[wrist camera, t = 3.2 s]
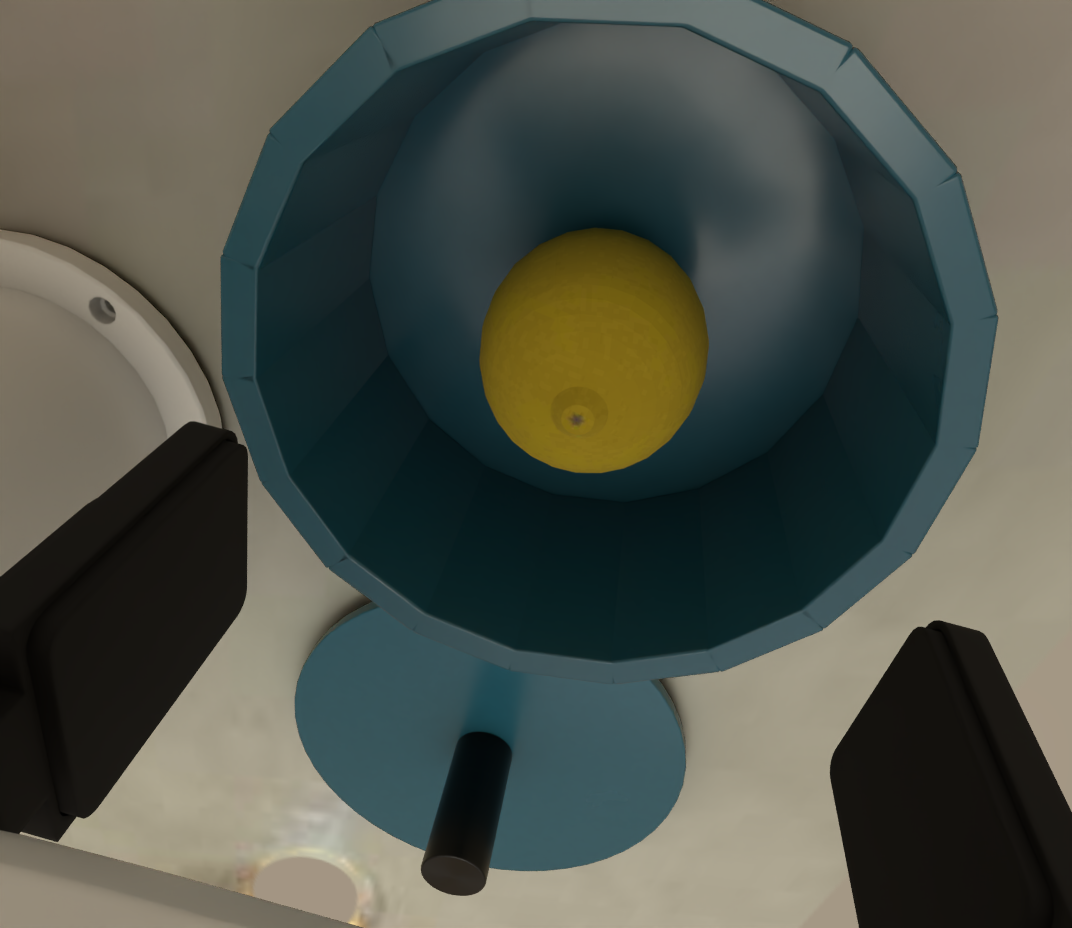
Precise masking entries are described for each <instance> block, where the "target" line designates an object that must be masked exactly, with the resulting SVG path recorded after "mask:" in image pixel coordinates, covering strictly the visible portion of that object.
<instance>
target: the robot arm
mask: <svg viewBox="0 0 1072 928" xmlns="http://www.w3.org/2000/svg"><path fill="white" fill-rule="evenodd" d="M247 498H248V453H247V449H246V447H245V446H244V445H241V444H238V442H237V437H236V435H235V433H233V432H232V431H229V430H225V429H222V424H221V418H220V413H219V410H218V407H217V405H216V402H215V399H214V396H213V394H212V391H211V388H210V385H209V383H208V381H207V379H206V377H205V375H204V374H203V372H202V370H201V368H200V366H199V365H198V363H197V361H196V359H195V357H194V356H193V354H192V352H191V350H190V349H189V348H188V346H187V345H186V344H185V343H184V341H183V340H182V339H181V337H180V336H179V335H178V333H177V332H176V331H175V330H174V328H173V327H172V326H171V324H170V323H169V322H168V320H167V319H166V318H165V317H164V316H163V315H162V314H161V313H160V312H159V311H158V310H157V309H156V308H155V307H154V306H152V305H151V304H150V303H149V302H148V301H147V300H146V299H145V298H144V297H143V296H142V295H141V294H140V293H139V292H138V291H137V290H136V289H134V288H133V287H132V286H130V285H129V284H128V283H126V282H125V281H123V280H122V279H121V278H119V277H118V276H117V275H115V274H114V273H113V272H111V271H110V270H109V269H107V268H106V267H104V266H103V265H101V264H99V263H97V262H95V261H93V260H91V259H90V258H88V257H86V256H84V255H82V254H80V253H78V252H77V251H75V250H73V249H71V248H69V247H66V246H63V245H61V244H58V243H55V242H52V241H49V240H46V239H43V238H41V237H38V236H35V235H31V234H25V233H19V232H13V231H6V230H0V928H362V927H359V926H355V925H352V924H348V923H344V922H341V921H337V920H334V919H330V918H327V917H323V916H320V915H316V914H312V913H309V912H305V911H302V910H298V909H295V908H291V907H287V906H284V905H280V904H276V903H273V902H269V901H266V900H262V899H259V898H255V897H252V896H248V895H245V894H241V893H238V892H234V891H230V890H227V889H223V888H220V887H216V886H213V885H209V884H205V883H202V882H198V881H195V880H191V879H188V878H184V877H180V876H177V875H173V874H170V873H166V872H163V871H159V870H155V869H151V868H147V867H144V866H140V865H136V864H132V863H128V862H124V861H121V860H117V859H113V858H109V857H105V856H101V855H98V854H94V853H90V852H86V851H82V850H78V849H75V848H71V847H67V846H63V845H59V844H55V843H52V842H48V841H44V840H40V839H36V838H32V837H29V836H25V835H20V834H19V833H20V832H24V833H28V834H31V835H35V836H38V837H42V838H45V839H49V840H52V841H56V842H58V841H59V840H60V838H61V837H62V836H63V834H64V833H65V832H66V830H67V829H68V827H69V826H70V825H71V823H72V822H73V821H74V819H75V818H76V817H80V818H83V819H84V818H86V817H89V816H90V815H91V814H92V813H93V812H94V811H95V810H96V809H97V808H98V807H99V805H100V804H101V803H102V801H103V800H104V798H105V797H106V796H107V794H108V793H109V792H110V790H111V789H112V787H113V786H114V785H115V783H116V782H117V781H118V779H119V778H120V776H121V775H122V774H123V772H124V771H125V770H126V768H127V767H128V765H129V764H130V763H131V761H132V760H133V759H134V757H135V756H136V754H137V753H138V752H139V750H140V749H141V748H142V746H143V745H144V744H145V742H146V741H147V739H148V738H149V737H150V735H151V734H152V733H153V731H154V730H155V728H156V727H157V726H158V724H159V723H160V722H161V720H162V719H163V717H164V716H165V715H166V713H167V712H168V711H169V709H170V708H171V706H172V705H173V704H174V702H175V701H176V700H177V698H178V697H179V695H180V694H181V693H182V691H183V690H184V689H185V687H186V686H187V684H188V683H189V682H190V680H191V679H192V678H193V676H194V675H195V673H196V672H197V671H198V669H199V668H200V667H201V665H202V664H203V662H204V661H205V660H206V658H207V657H208V656H209V654H210V653H211V651H212V650H213V649H214V647H215V646H216V645H217V643H218V642H219V640H220V639H221V638H222V636H223V635H224V634H225V632H226V631H227V629H228V628H229V627H230V625H231V624H232V623H233V621H234V620H235V619H236V617H237V616H238V614H239V612H240V611H241V608H242V606H243V604H244V601H245V597H246V592H247ZM830 779H831V784H832V789H833V795H834V800H835V805H836V810H837V815H838V821H839V826H840V831H841V836H842V841H843V847H844V852H845V857H846V862H847V867H848V873H849V878H850V883H851V888H852V893H853V898H854V903H855V908H856V914H857V919H858V924H859V928H1072V812H1071V810H1070V808H1069V806H1068V804H1067V802H1066V799H1065V797H1064V795H1063V794H1062V791H1061V789H1060V787H1059V785H1058V783H1057V781H1056V779H1055V777H1054V775H1053V773H1052V771H1051V769H1050V767H1049V764H1048V762H1047V760H1046V758H1045V756H1044V754H1043V752H1042V750H1041V748H1040V746H1039V744H1038V742H1037V740H1036V737H1035V735H1034V733H1033V731H1032V729H1031V727H1030V725H1029V723H1028V721H1027V719H1026V717H1025V715H1024V713H1023V711H1022V709H1021V707H1020V704H1019V702H1018V700H1017V698H1016V696H1015V694H1014V692H1013V690H1012V688H1011V686H1010V684H1009V682H1008V680H1007V677H1006V675H1005V673H1004V671H1003V669H1002V667H1001V665H1000V663H999V661H998V659H997V657H996V655H995V653H994V651H993V649H992V646H991V644H990V642H989V640H988V639H987V637H986V636H985V635H984V634H983V633H982V632H980V631H977V630H973V629H970V628H966V627H962V626H958V625H955V624H951V623H947V622H943V621H940V620H939V621H933V622H931V623H930V624H928V626H927V627H926V628H924V627H917V628H915V629H914V630H913V631H912V632H911V634H910V635H909V637H908V638H907V640H906V641H905V643H904V644H903V646H902V647H901V649H900V650H899V652H898V654H897V655H896V657H895V658H894V660H893V661H892V663H891V664H890V666H889V667H888V669H887V671H886V672H885V674H884V675H883V677H882V678H881V680H880V681H879V683H878V685H877V686H876V688H875V689H874V691H873V692H872V694H871V695H870V697H869V698H868V700H867V702H866V703H865V705H864V706H863V708H862V709H861V711H860V712H859V714H858V715H857V717H856V719H855V720H854V722H853V723H852V725H851V726H850V728H849V729H848V731H847V732H846V734H845V736H844V737H843V739H842V740H841V742H840V743H839V745H838V746H837V748H836V749H835V751H834V753H833V756H832V760H831V765H830Z"/></svg>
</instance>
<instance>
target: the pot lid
mask: <svg viewBox="0 0 1072 928" xmlns="http://www.w3.org/2000/svg"><path fill="white" fill-rule="evenodd" d="M295 718H296V723H297V728H298V732H299V736H300V738H301V741H302V744H303V746H304V749H305V751H306V753H307V755H308V757H309V758H310V760H311V762H312V764H313V766H314V767H315V769H316V770H317V771H318V773H319V774H320V776H321V777H322V778H323V780H324V781H325V782H326V784H327V785H328V786H329V787H330V788H331V789H332V790H333V791H334V792H335V793H336V794H337V795H338V796H339V798H340V799H342V800H343V801H344V802H345V803H346V804H347V805H348V806H350V807H351V808H352V809H353V810H354V811H355V812H357V813H358V814H359V815H361V816H362V817H364V818H365V819H366V820H368V821H369V822H370V823H372V824H373V825H375V826H377V827H378V828H380V829H382V830H383V831H385V832H387V833H388V834H390V835H392V836H394V837H396V838H398V839H400V840H402V841H404V842H406V843H408V844H410V845H412V846H414V847H417V848H419V849H422V850H424V851H425V855H424V858H423V862H422V865H421V873H422V876H423V878H424V879H425V880H426V881H427V883H429V884H430V885H431V886H432V887H434V888H436V889H437V890H439V891H442V892H444V893H447V894H451V895H458V896H467V895H472V894H476V893H478V892H479V891H481V890H482V889H483V887H484V886H485V884H486V880H487V875H488V870H489V868H494V869H501V870H515V871H547V870H558V869H567V868H572V867H577V866H583V865H587V864H591V863H594V862H597V861H601V860H604V859H607V858H609V857H612V856H614V855H616V854H619V853H621V852H623V851H625V850H627V849H629V848H630V847H632V846H634V845H635V844H637V843H639V842H641V841H642V840H643V839H644V838H646V837H647V836H648V835H649V834H651V833H652V832H653V831H654V830H655V829H656V828H657V827H658V826H659V825H660V824H661V823H662V822H663V821H664V820H665V818H666V817H667V816H668V814H669V813H670V811H671V810H672V808H673V806H674V805H675V803H676V802H677V799H678V796H679V794H680V791H681V789H682V786H683V782H684V776H685V770H686V751H685V737H684V732H683V728H682V724H681V720H680V718H679V715H678V713H677V710H676V708H675V706H674V703H673V701H672V699H671V698H670V696H669V695H668V693H667V691H666V690H665V688H664V687H663V685H662V683H661V682H660V681H659V679H655V680H647V681H639V682H631V683H622V684H615V683H613V684H604V683H597V682H589V681H582V680H574V679H567V678H560V677H552V676H545V675H537V674H530V673H523V672H515V671H510V669H509V670H507V669H504V668H502V667H499V666H497V665H494V664H492V663H489V662H487V661H484V660H482V659H479V658H477V657H474V656H472V655H469V654H467V653H464V652H462V651H460V650H457V649H455V648H452V647H450V646H447V645H445V644H442V643H440V642H437V641H435V640H432V639H430V638H427V637H425V636H422V635H420V634H417V633H415V632H413V630H410V629H409V628H407V627H406V626H405V625H403V624H402V623H401V622H399V621H398V620H397V619H395V618H394V617H392V616H391V615H390V614H388V613H387V612H386V611H384V610H383V609H382V608H380V607H379V606H378V605H376V604H375V603H374V602H371V603H368V604H366V605H364V606H362V607H361V608H359V609H357V610H355V611H353V612H351V613H350V614H348V615H346V616H345V617H344V618H342V619H341V620H340V621H338V622H337V623H336V624H335V625H333V626H332V627H331V628H330V629H329V630H328V631H327V632H326V633H325V634H324V635H323V636H322V637H321V639H320V640H319V641H318V642H317V643H316V645H315V647H314V648H313V650H312V652H311V653H310V655H309V656H308V658H307V660H306V662H305V663H304V665H303V668H302V671H301V673H300V676H299V679H298V681H297V687H296V694H295Z"/></svg>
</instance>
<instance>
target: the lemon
mask: <svg viewBox="0 0 1072 928" xmlns="http://www.w3.org/2000/svg"><path fill="white" fill-rule="evenodd" d="M708 349H709V338H708V332H707V326H706V320H705V314H704V308H703V306H702V304H701V302H700V300H699V297H698V295H697V293H696V291H695V288H694V286H693V284H692V282H691V280H690V278H689V277H688V276H687V275H686V273H685V272H684V271H683V270H682V269H681V267H680V266H679V265H678V264H677V263H676V261H675V260H674V259H673V258H672V257H671V256H670V255H669V254H667V253H666V252H665V251H663V250H662V249H660V248H659V247H657V246H656V245H655V244H653V243H652V242H650V241H649V240H647V239H644V238H641V237H639V236H636V235H633V234H631V233H628V232H625V231H623V230H614V229H604V228H589V229H583V230H577V231H571V232H567V233H564V234H562V235H560V236H558V237H555V238H553V239H551V240H548V241H546V242H544V243H542V244H539V245H538V246H537V247H536V248H534V249H533V250H532V251H531V252H529V253H528V254H527V255H526V256H524V257H523V258H522V259H521V260H519V261H518V262H517V263H516V264H515V265H514V266H513V268H512V269H511V270H510V272H509V273H508V274H507V276H506V277H505V279H504V280H503V281H502V283H501V284H500V286H499V287H498V288H497V290H496V291H495V294H494V296H493V298H492V301H491V304H490V306H489V309H488V312H487V314H486V317H485V320H484V323H483V327H482V337H481V347H480V359H479V361H480V370H481V375H482V381H483V387H484V392H485V396H486V398H487V401H488V403H489V405H490V407H491V409H492V412H493V414H494V416H495V418H496V420H497V422H498V423H499V425H500V426H501V427H502V429H503V430H504V431H505V432H506V434H507V435H508V436H509V437H510V439H511V440H512V441H513V442H514V443H515V444H516V445H518V446H519V447H520V448H521V449H523V450H524V451H525V452H527V453H528V454H529V455H530V456H532V457H534V458H536V459H538V460H540V461H542V462H544V463H546V464H548V465H550V466H552V467H555V468H559V469H563V470H567V471H571V472H576V473H603V472H608V471H613V470H618V469H623V468H626V467H628V466H630V465H633V464H635V463H637V462H639V461H642V460H644V459H646V458H648V457H649V456H650V455H652V454H653V453H654V452H655V451H657V450H658V449H659V448H661V447H662V446H663V445H664V444H666V443H667V442H668V441H669V440H670V439H671V438H672V437H673V436H674V434H675V433H676V432H677V430H678V429H679V428H680V426H681V425H682V424H683V422H684V421H685V420H686V418H687V417H688V416H689V414H690V412H691V411H692V408H693V406H694V404H695V401H696V399H697V396H698V394H699V391H700V389H701V387H702V384H703V382H704V378H705V374H706V365H707V357H708Z"/></svg>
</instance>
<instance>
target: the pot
mask: <svg viewBox="0 0 1072 928" xmlns="http://www.w3.org/2000/svg"><path fill="white" fill-rule="evenodd" d="M269 131H270V133H269V134H268V135H267V138H266V140H265V143H264V145H263V148H262V151H261V153H260V156H259V158H258V161H257V164H256V166H255V169H254V171H253V174H252V177H251V179H250V182H249V184H248V187H247V190H246V192H245V195H244V197H243V200H242V202H241V205H240V208H239V210H238V213H237V215H236V218H235V221H234V223H233V226H232V228H231V231H230V234H229V236H228V239H227V241H226V244H225V247H224V249H223V255H221V342H222V375H223V381H224V383H225V386H226V389H227V392H228V394H229V397H230V400H231V402H232V405H233V408H234V411H235V413H236V416H237V419H238V422H239V424H240V427H241V430H242V432H243V435H244V438H245V441H246V443H247V446H248V449H249V452H250V454H251V457H252V460H253V462H254V465H255V468H256V471H257V473H258V476H259V479H260V481H261V482H262V485H263V486H264V487H265V488H266V490H267V491H268V492H269V494H270V495H271V496H272V498H273V499H274V500H275V501H276V503H277V504H278V505H279V507H280V508H281V509H282V511H283V512H284V513H285V514H286V516H287V517H288V518H289V520H290V521H291V522H292V524H293V525H294V526H295V527H296V529H297V530H298V531H299V533H300V534H301V535H302V537H303V538H304V539H305V540H306V542H307V543H308V544H309V546H310V547H311V548H312V550H313V551H314V552H315V554H316V555H317V556H318V557H319V559H320V560H321V561H322V563H323V564H324V565H325V567H327V568H328V567H329V569H330V570H331V571H332V572H333V573H335V574H336V575H337V576H339V577H340V578H342V579H343V580H344V581H346V582H347V583H348V584H350V585H351V586H352V587H354V588H355V589H356V590H358V591H359V592H360V593H362V594H363V595H364V596H366V597H367V598H368V599H370V600H371V601H372V602H374V603H375V604H376V605H378V606H379V607H380V608H382V609H383V610H384V611H386V612H387V613H388V614H390V615H391V616H392V617H394V618H395V619H397V620H398V621H399V622H401V623H402V624H403V625H405V626H406V627H407V628H409V629H410V630H413V632H415V633H417V634H420V635H422V636H425V637H427V638H430V639H432V640H435V641H437V642H440V643H442V644H445V645H447V646H450V647H452V648H455V649H457V650H460V651H462V652H464V653H467V654H469V655H472V656H474V657H477V658H479V659H482V660H484V661H487V662H489V663H492V664H494V665H497V666H499V667H502V668H504V669H507V670H509V669H510V671H515V672H523V673H530V674H537V675H545V676H552V677H560V678H567V679H574V680H582V681H589V682H597V683H604V684H613V683H615V684H622V683H631V682H639V681H647V680H655V679H664V678H672V677H680V676H688V675H697V674H705V673H713V672H719V671H721V672H722V671H725V670H727V669H730V668H732V667H735V666H737V665H739V664H742V663H744V662H747V661H749V660H752V659H754V658H756V657H759V656H761V655H764V654H766V653H769V652H771V651H773V650H776V649H778V648H781V647H783V646H786V645H788V644H790V643H793V642H795V641H798V640H800V639H802V638H805V637H807V636H810V635H812V634H815V633H817V632H819V631H822V630H823V628H826V627H827V626H828V625H830V624H831V623H832V622H833V621H834V620H836V619H837V618H838V617H839V616H841V615H842V614H843V613H844V612H845V611H847V610H848V609H849V608H850V607H851V606H853V605H854V604H855V603H856V602H857V601H859V600H860V599H861V598H862V597H864V596H865V595H866V594H867V593H868V592H870V591H871V590H872V589H873V588H874V587H876V586H877V585H878V584H879V583H880V582H882V581H883V580H884V579H885V578H886V577H888V576H889V575H890V574H891V573H893V572H894V571H895V570H896V569H897V568H899V567H900V566H901V565H902V564H903V563H905V562H906V561H907V560H908V559H909V558H911V557H912V554H914V553H915V552H916V550H917V549H918V547H919V545H920V544H921V542H922V540H923V539H924V537H925V535H926V534H927V532H928V530H929V529H930V527H931V525H932V524H933V522H934V520H935V519H936V517H937V515H938V514H939V512H940V510H941V509H942V507H943V505H944V504H945V502H946V500H947V499H948V497H949V495H950V494H951V492H952V490H953V489H954V487H955V485H956V484H957V482H958V480H959V479H960V477H961V475H962V474H963V472H964V470H965V469H966V467H967V465H968V464H969V462H970V460H971V459H972V457H973V455H974V454H975V452H976V448H977V447H978V444H979V438H980V431H981V425H982V418H983V412H984V406H985V399H986V393H987V387H988V380H989V374H990V368H991V361H992V355H993V349H994V342H995V336H996V330H997V323H998V315H997V306H996V303H995V299H994V295H993V292H992V288H991V284H990V280H989V277H988V273H987V269H986V266H985V262H984V258H983V254H982V251H981V247H980V243H979V240H978V236H977V232H976V228H975V225H974V221H973V217H972V213H971V210H970V206H969V202H968V199H967V195H966V191H965V187H964V184H963V180H962V176H961V174H960V173H959V172H957V167H956V165H955V164H954V163H953V162H952V160H951V159H950V158H949V157H948V156H947V154H946V153H945V152H944V151H943V150H942V148H941V147H940V146H939V145H938V144H937V142H936V141H935V140H934V139H933V138H932V136H931V135H930V134H929V133H928V132H927V130H926V129H925V128H924V127H923V126H922V124H921V123H920V122H919V121H918V120H917V118H916V117H915V116H914V115H913V114H912V112H911V111H910V110H909V109H908V108H907V106H906V105H905V104H904V103H903V102H902V100H901V99H900V98H899V97H898V96H897V94H896V93H895V92H894V91H893V90H892V88H891V87H890V86H889V85H888V84H887V82H886V81H885V80H884V79H883V78H882V76H881V75H880V74H879V73H878V72H877V70H876V69H875V68H874V67H873V66H872V64H871V63H870V62H869V61H868V60H867V58H866V57H865V56H864V55H863V54H862V52H861V51H860V50H859V49H858V48H855V47H853V45H852V44H851V43H850V42H849V41H847V40H844V39H842V38H840V37H838V36H836V35H834V34H832V33H830V32H828V31H826V30H824V29H822V28H820V27H818V26H815V25H813V24H811V23H809V22H807V21H805V20H803V19H801V18H799V17H797V16H795V15H793V14H791V13H789V12H787V11H784V10H782V9H780V8H778V7H776V6H774V5H772V4H770V3H768V2H766V1H764V0H431V1H429V2H426V3H424V4H421V5H419V6H416V7H414V8H412V9H409V10H407V11H404V12H402V13H399V14H397V15H394V16H392V17H389V18H387V19H384V20H382V21H379V22H377V23H375V24H374V25H373V26H370V27H369V28H368V29H367V30H366V31H365V32H364V33H363V34H362V35H361V36H360V37H359V38H358V39H357V40H356V41H355V42H354V43H353V44H352V45H351V46H350V47H349V48H348V49H347V50H346V51H345V52H344V53H343V54H342V55H341V56H340V57H339V58H338V59H337V60H336V62H335V63H334V64H333V65H332V66H331V67H330V68H329V69H328V70H327V71H326V72H325V73H324V74H323V75H322V76H321V77H320V78H319V79H318V80H317V81H316V82H315V83H314V84H313V85H312V86H311V87H310V88H309V89H308V90H307V91H306V92H305V93H304V94H303V95H302V96H301V97H300V98H299V100H298V101H297V102H296V103H295V104H294V105H293V106H292V107H291V108H290V109H289V110H288V111H287V112H286V113H285V114H284V115H283V116H282V117H281V118H280V119H279V120H278V121H277V122H276V123H275V124H274V125H273V126H272V127H271V128H270V130H269ZM589 228H604V229H614V230H623V231H625V232H628V233H631V234H633V235H636V236H639V237H641V238H644V239H647V240H649V241H650V242H652V243H653V244H655V245H656V246H657V247H659V248H660V249H662V250H663V251H665V252H666V253H667V254H669V255H670V256H671V257H672V258H673V259H674V260H675V261H676V263H677V264H678V265H679V266H680V267H681V269H682V270H683V271H684V272H685V273H686V275H687V276H688V277H689V278H690V280H691V282H692V284H693V286H694V288H695V291H696V293H697V295H698V297H699V300H700V302H701V304H702V306H703V308H704V314H705V320H706V326H707V332H708V338H709V349H708V357H707V365H706V374H705V378H704V382H703V384H702V387H701V389H700V391H699V394H698V396H697V399H696V401H695V404H694V406H693V408H692V411H691V412H690V414H689V416H688V417H687V418H686V420H685V421H684V422H683V424H682V425H681V426H680V428H679V429H678V430H677V432H676V433H675V434H674V436H673V437H672V438H671V439H670V440H669V441H668V442H667V443H666V444H664V445H663V446H662V447H661V448H659V449H658V450H657V451H655V452H654V453H653V454H652V455H650V456H649V457H648V458H646V459H644V460H642V461H639V462H637V463H635V464H633V465H630V466H628V467H626V468H623V469H618V470H613V471H608V472H603V473H576V472H571V471H567V470H563V469H559V468H555V467H552V466H550V465H548V464H546V463H544V462H542V461H540V460H538V459H536V458H534V457H532V456H530V455H529V454H528V453H527V452H525V451H524V450H523V449H521V448H520V447H519V446H518V445H516V444H515V443H514V442H513V441H512V440H511V439H510V437H509V436H508V435H507V434H506V432H505V431H504V430H503V429H502V427H501V426H500V425H499V423H498V422H497V420H496V418H495V416H494V414H493V412H492V409H491V407H490V405H489V403H488V401H487V398H486V396H485V392H484V387H483V381H482V375H481V370H480V361H479V359H480V347H481V337H482V327H483V323H484V320H485V317H486V314H487V312H488V309H489V306H490V304H491V301H492V298H493V296H494V294H495V291H496V290H497V288H498V287H499V286H500V284H501V283H502V281H503V280H504V279H505V277H506V276H507V274H508V273H509V272H510V270H511V269H512V268H513V266H514V265H515V264H516V263H517V262H518V261H519V260H521V259H522V258H523V257H524V256H526V255H527V254H528V253H529V252H531V251H532V250H533V249H534V248H536V247H537V246H538V245H539V244H542V243H544V242H546V241H548V240H551V239H553V238H555V237H558V236H560V235H562V234H564V233H567V232H571V231H577V230H583V229H589Z"/></svg>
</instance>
